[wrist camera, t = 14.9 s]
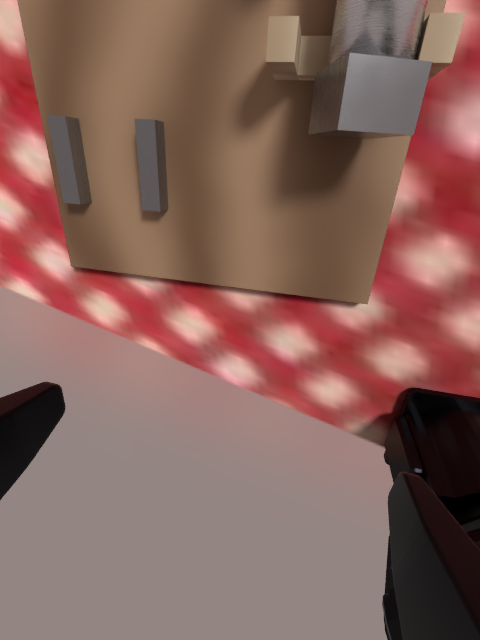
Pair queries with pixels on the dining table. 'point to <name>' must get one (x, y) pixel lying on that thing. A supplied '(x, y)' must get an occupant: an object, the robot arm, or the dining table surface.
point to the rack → (313, 51)
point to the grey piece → (371, 71)
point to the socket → (75, 169)
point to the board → (210, 147)
